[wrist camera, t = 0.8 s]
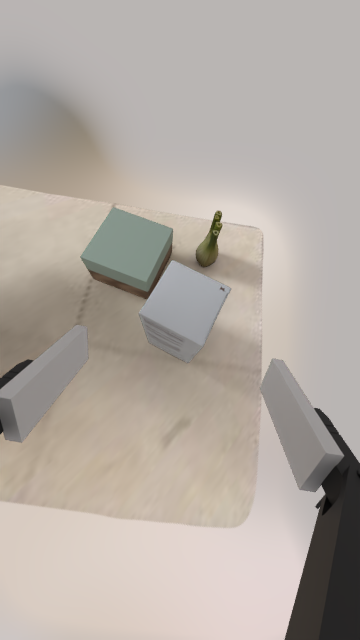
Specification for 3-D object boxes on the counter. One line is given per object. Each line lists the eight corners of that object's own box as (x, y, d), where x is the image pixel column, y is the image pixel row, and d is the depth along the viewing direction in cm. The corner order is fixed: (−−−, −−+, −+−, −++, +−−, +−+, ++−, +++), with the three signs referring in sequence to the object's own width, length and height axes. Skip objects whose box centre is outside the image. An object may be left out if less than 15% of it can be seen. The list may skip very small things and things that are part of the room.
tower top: (87, 269, 42) (80, 257, 38) (117, 222, 46) (113, 207, 42) (147, 292, 41) (146, 282, 37) (172, 242, 45) (173, 228, 41)
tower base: (94, 279, 45) (87, 269, 42) (120, 235, 50) (117, 222, 46) (149, 300, 45) (147, 292, 41) (171, 253, 49) (172, 242, 45)
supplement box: (169, 304, 45) (172, 255, 29) (208, 324, 44) (233, 285, 28) (146, 343, 41) (136, 313, 26) (188, 365, 41) (203, 348, 25)
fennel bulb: (206, 273, 48) (219, 236, 36) (189, 261, 48) (196, 222, 37) (220, 257, 49) (236, 217, 38) (203, 245, 50) (214, 203, 39)
